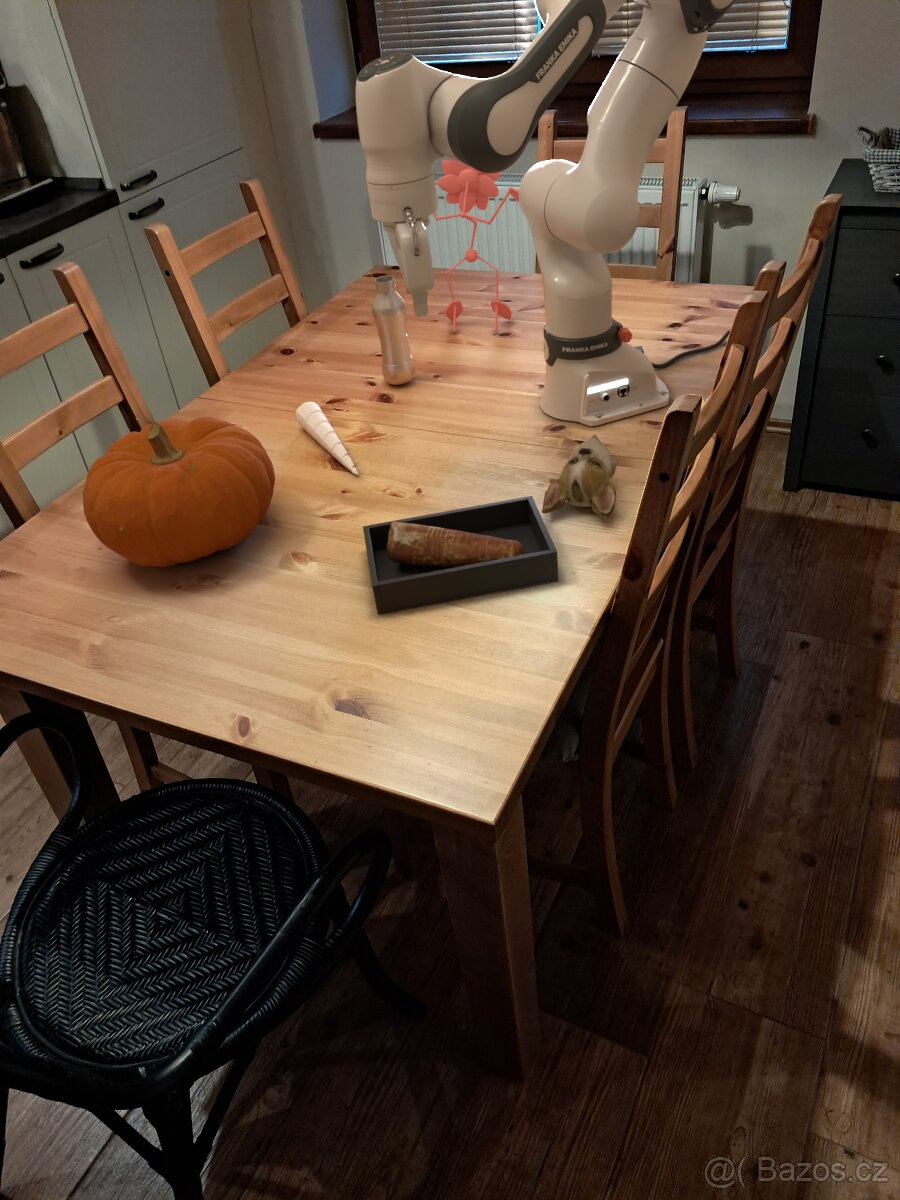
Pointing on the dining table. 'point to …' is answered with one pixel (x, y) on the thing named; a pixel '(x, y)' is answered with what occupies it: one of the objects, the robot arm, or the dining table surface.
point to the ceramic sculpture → (585, 480)
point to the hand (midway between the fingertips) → (417, 302)
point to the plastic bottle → (392, 332)
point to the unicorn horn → (323, 433)
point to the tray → (447, 583)
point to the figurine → (471, 218)
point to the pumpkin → (178, 491)
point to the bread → (445, 546)
